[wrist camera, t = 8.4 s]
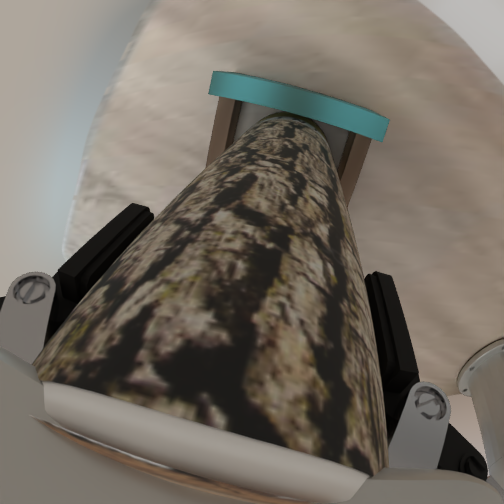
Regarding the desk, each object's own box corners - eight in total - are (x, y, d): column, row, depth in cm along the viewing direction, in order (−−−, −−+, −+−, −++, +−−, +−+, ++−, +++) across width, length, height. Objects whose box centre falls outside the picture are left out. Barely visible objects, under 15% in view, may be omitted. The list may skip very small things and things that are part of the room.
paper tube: (337, 180, 25) (383, 543, 4) (260, 198, 28) (141, 521, 6) (315, 101, 22) (413, 437, 1) (234, 124, 25) (-47, 379, 3)
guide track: (371, 110, 22) (389, 119, 17) (297, 311, 34) (293, 353, 29) (233, 72, 23) (213, 70, 17) (194, 282, 34) (176, 319, 29)
